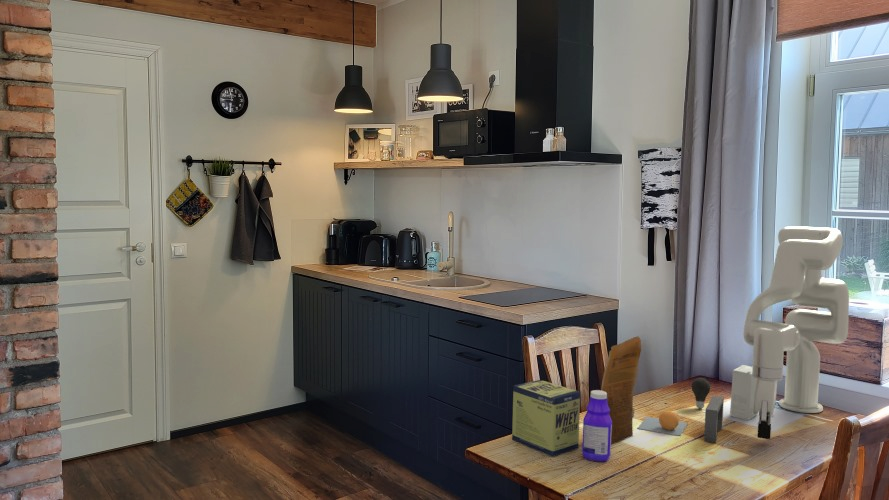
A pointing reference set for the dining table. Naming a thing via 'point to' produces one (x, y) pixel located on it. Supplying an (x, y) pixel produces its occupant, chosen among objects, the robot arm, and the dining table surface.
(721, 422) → the bridge
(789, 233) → the robot arm
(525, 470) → the dining table surface
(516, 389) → the protein box
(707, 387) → the light bulb
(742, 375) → the skincare box
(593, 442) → the bottle
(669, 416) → the ball
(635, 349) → the pancake mix bag
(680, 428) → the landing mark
